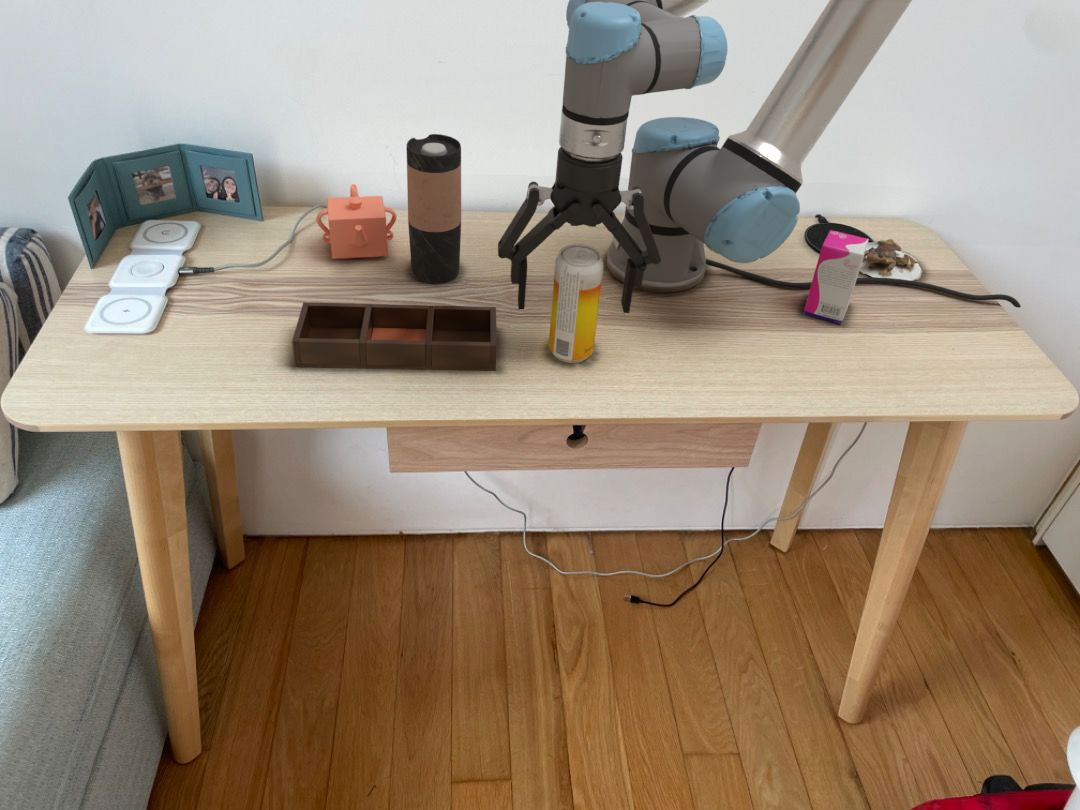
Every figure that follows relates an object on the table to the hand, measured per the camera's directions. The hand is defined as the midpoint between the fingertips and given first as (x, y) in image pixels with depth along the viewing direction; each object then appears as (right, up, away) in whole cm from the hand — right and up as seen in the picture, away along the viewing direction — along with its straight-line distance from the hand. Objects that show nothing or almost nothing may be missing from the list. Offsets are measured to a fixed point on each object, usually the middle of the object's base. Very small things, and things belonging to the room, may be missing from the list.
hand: (573, 306), depth 117 cm
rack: (-23, -5, +3) cm, 24 cm away
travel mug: (-20, +7, +19) cm, 29 cm away
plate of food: (+51, +10, +29) cm, 60 cm away
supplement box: (+38, +1, +17) cm, 42 cm away
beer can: (0, -6, +5) cm, 8 cm away
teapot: (-32, +11, +23) cm, 41 cm away
